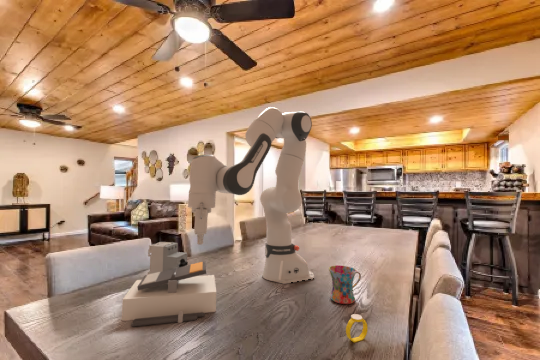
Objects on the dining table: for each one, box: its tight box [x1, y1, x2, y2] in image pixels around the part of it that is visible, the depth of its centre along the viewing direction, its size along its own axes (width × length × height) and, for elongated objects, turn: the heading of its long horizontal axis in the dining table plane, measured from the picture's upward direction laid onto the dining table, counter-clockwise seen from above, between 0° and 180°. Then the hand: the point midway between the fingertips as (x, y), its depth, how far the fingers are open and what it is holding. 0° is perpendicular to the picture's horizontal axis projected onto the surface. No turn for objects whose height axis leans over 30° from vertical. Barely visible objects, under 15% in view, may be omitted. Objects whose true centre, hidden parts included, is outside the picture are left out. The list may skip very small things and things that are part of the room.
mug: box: [328, 264, 362, 305], centre depth 89 cm, size 12×9×11 cm
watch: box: [345, 313, 369, 344], centre depth 65 cm, size 6×3×6 cm, turn 114°
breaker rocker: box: [137, 261, 207, 290], centre depth 84 cm, size 20×10×2 cm, turn 105°
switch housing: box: [121, 274, 217, 322], centre depth 84 cm, size 26×16×10 cm, turn 104°
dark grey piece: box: [131, 311, 205, 328], centre depth 73 cm, size 19×3×2 cm, turn 104°
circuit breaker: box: [146, 241, 189, 275], centre depth 103 cm, size 8×14×15 cm, turn 78°
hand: (200, 243), depth 86 cm, fingers closed
